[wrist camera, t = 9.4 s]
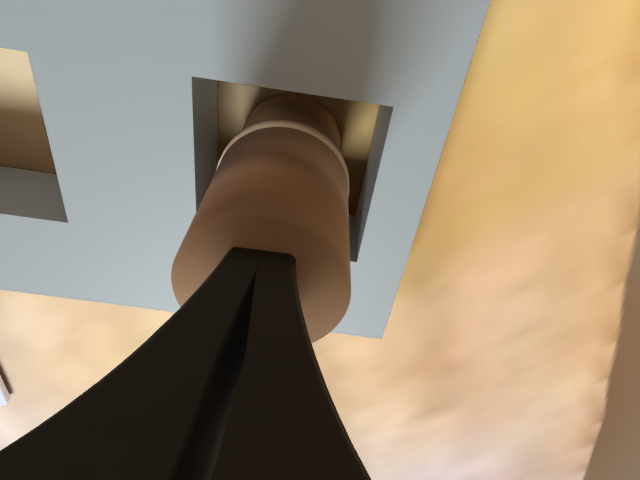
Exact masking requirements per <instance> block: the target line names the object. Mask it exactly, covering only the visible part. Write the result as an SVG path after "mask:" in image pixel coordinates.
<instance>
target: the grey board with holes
mask: <svg viewBox="0 0 640 480" xmlns="http://www.w3.org/2000/svg"><path fill="white" fill-rule="evenodd" d="M490 1H491V0H0V48H7V49H14V50H20V51H27V52H28V56H29V60H30V64H31V69H32V73H33V77H34V81H35V85H36V90H37V94H38V98H39V102H40V106H41V110H42V115H43V119H44V123H45V127H46V131H47V136H48V140H49V144H50V148H51V152H52V156H53V161H54V165H55V169H56V173H57V174H53V173H46V172H39V171H32V170H25V169H18V168H11V167H3V166H0V290H8V291H16V292H23V293H31V294H39V295H46V296H54V297H62V298H70V299H77V300H85V301H93V302H100V303H108V304H116V305H124V306H131V307H139V308H147V309H154V310H162V311H170V312H177V311H178V310H179V309H180V305H179V304H178V302H177V300H176V297H175V295H174V292H173V288H172V282H171V269H172V265H173V261H174V259H175V256H176V254H177V252H178V250H179V248H180V246H181V244H182V241H183V239H184V237H185V235H186V233H187V231H188V229H189V227H190V225H191V223H192V220H193V218H194V216H195V214H196V212H197V210H198V208H199V206H200V204H201V202H202V199H203V197H204V195H205V193H206V191H207V189H208V187H209V185H210V183H211V181H212V179H213V176H214V174H215V172H216V169H217V80H219V81H226V82H232V83H239V84H246V85H252V86H259V87H266V88H272V89H279V90H285V91H292V92H299V93H305V94H312V95H319V96H325V97H332V98H338V99H345V100H352V101H358V102H365V103H372V104H378V105H379V110H378V114H377V119H376V123H375V128H374V133H373V137H372V142H371V147H370V151H369V156H368V160H367V165H366V170H365V174H364V179H363V183H362V188H361V193H360V197H359V202H358V206H357V211H356V216H352V215H349V240H350V270H351V298H350V303H349V307H348V309H347V312H346V314H345V315H344V317H343V319H342V320H341V321H340V323H339V324H338V325H337V326H336V327H335V328H334V329H333V330H332V331H331V332H332V333H340V334H347V335H355V336H363V337H371V338H378V339H382V337H383V334H384V331H385V328H386V324H387V321H388V318H389V315H390V312H391V309H392V306H393V303H394V300H395V296H396V293H397V290H398V287H399V284H400V281H401V278H402V275H403V272H404V268H405V265H406V262H407V259H408V256H409V253H410V250H411V247H412V243H413V240H414V237H415V234H416V231H417V228H418V225H419V222H420V219H421V215H422V212H423V209H424V206H425V203H426V200H427V197H428V194H429V191H430V187H431V184H432V181H433V178H434V175H435V172H436V169H437V166H438V163H439V159H440V156H441V153H442V150H443V147H444V144H445V141H446V138H447V135H448V131H449V128H450V125H451V122H452V119H453V116H454V113H455V110H456V106H457V103H458V100H459V97H460V94H461V91H462V88H463V85H464V82H465V78H466V75H467V72H468V69H469V66H470V63H471V60H472V57H473V54H474V50H475V47H476V44H477V41H478V38H479V35H480V32H481V29H482V26H483V22H484V19H485V16H486V13H487V10H488V7H489V4H490Z"/></svg>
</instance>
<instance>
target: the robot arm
mask: <svg viewBox="0 0 640 480" xmlns="http://www.w3.org/2000/svg"><path fill="white" fill-rule="evenodd" d="M10 399H11V398H10V395H9V393H8V391H7V389H6V386H5V384H4V382H3V380H2V378H1V375H0V406H4V405H7V404H8V402H9V401H10ZM0 480H371V478H370V476H369V475H368V473H367V471H366V469H365V467H364V465H363V463H362V461H361V459H360V458H359V456H358V454H357V452H356V450H355V448H354V446H353V444H352V442H351V440H350V438H349V436H348V434H347V432H346V430H345V427H344V425H343V423H342V421H341V419H340V417H339V414H338V412H337V410H336V408H335V405H334V403H333V401H332V398H331V396H330V393H329V391H328V389H327V386H326V383H325V381H324V378H323V376H322V373H321V370H320V368H319V365H318V362H317V359H316V356H315V353H314V350H313V347H312V344H311V340H310V337H309V334H308V330H307V326H306V323H305V319H304V315H303V311H302V307H301V302H300V297H299V292H298V286H297V278H296V258H295V257H294V256H293V255H292V254H288V253H280V252H272V251H264V250H257V249H249V248H241V247H233V248H232V249H230V250H229V251H228V252H227V254H226V255H225V256H224V258H223V259H222V260H221V262H220V263H219V264H218V265H217V267H216V268H215V269H214V270H213V272H212V273H211V274H210V275H209V276H208V278H207V279H206V280H205V281H204V282H203V283H202V285H201V286H200V287H199V288H198V289H197V290H196V291H195V292H194V293H193V294H192V296H191V297H190V298H189V299H188V300H187V301H186V302H185V303H184V304H183V305H182V306H181V307H180V309H179V310H178V311H177V312H176V313H175V314H174V315H173V316H172V317H171V318H170V319H169V320H167V321H166V322H165V323H164V324H163V325H162V326H161V327H160V328H159V329H158V330H157V331H156V332H155V333H154V334H153V335H152V336H151V337H150V338H149V339H148V340H147V341H146V342H145V343H143V344H142V345H141V346H140V347H139V348H138V349H137V350H136V351H134V352H133V353H132V354H131V355H130V356H129V357H128V358H126V359H125V360H124V361H123V362H122V363H121V364H119V365H118V366H117V367H116V368H114V369H113V370H112V371H111V372H110V373H108V374H107V375H106V376H105V377H104V378H102V379H101V380H100V381H98V382H97V383H96V384H95V385H93V386H92V387H91V388H89V389H88V390H87V391H85V392H84V393H83V394H81V395H80V396H79V397H77V398H76V399H75V400H73V401H72V402H71V403H69V404H68V405H67V406H66V407H64V408H63V409H61V410H60V411H59V412H57V413H56V414H54V415H53V416H52V417H50V418H49V419H47V420H46V421H45V422H43V423H42V424H40V425H39V426H37V427H36V428H34V429H33V430H31V431H30V432H28V433H27V434H25V435H24V436H22V437H21V438H19V439H18V440H16V441H15V442H13V443H12V444H10V445H9V446H7V447H5V448H4V449H2V450H1V451H0Z"/></svg>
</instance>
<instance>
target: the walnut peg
mask: <svg viewBox="0 0 640 480" xmlns="http://www.w3.org/2000/svg"><path fill="white" fill-rule="evenodd" d="M348 197H349V175H348V169H347V166H346V163H345V160H344V158H343V156H342V154H341V139H340V133H339V129H338V126H337V124H336V122H335V120H334V119H333V117H332V116H331V114H330V113H329V112H328V111H327V110H326V109H325V108H324V107H323V106H322V105H320V104H319V103H318V102H316V101H314V100H312V99H310V98H307V97H304V96H300V95H293V94H285V95H278V96H275V97H272V98H269V99H267V100H265V101H264V102H262V103H260V104H259V105H258V106H257V107H256V108H255V109H254V110H253V111H252V112H251V114H250V115H249V117H248V119H247V121H246V123H245V125H244V128H243V130H242V131H241V132H239V133H238V134H237V135H236V136H235V137H234V138H233V139H232V140H231V141H230V142H229V143H228V145H227V146H226V148H225V149H224V151H223V153H222V156H221V158H220V160H219V162H218V166H217V169H216V172H215V174H214V176H213V179H212V181H211V183H210V185H209V187H208V189H207V191H206V193H205V195H204V197H203V199H202V202H201V204H200V206H199V208H198V210H197V212H196V214H195V216H194V218H193V220H192V223H191V225H190V227H189V229H188V231H187V233H186V235H185V237H184V239H183V241H182V244H181V246H180V248H179V250H178V252H177V254H176V256H175V259H174V261H173V265H172V269H171V282H172V288H173V292H174V295H175V297H176V300H177V302H178V304H179V305H180V307H181V306H182V305H183V304H184V303H185V302H186V301H187V300H188V299H189V298H190V297H191V296H192V294H193V293H194V292H195V291H196V290H197V289H198V288H199V287H200V286H201V285H202V283H203V282H204V281H205V280H206V279H207V278H208V276H209V275H210V274H211V273H212V272H213V270H214V269H215V268H216V267H217V265H218V264H219V263H220V262H221V260H222V259H223V258H224V256H225V255H226V254H227V252H228V251H229V250H230V249H232V248H233V247H241V248H249V249H257V250H264V251H272V252H280V253H288V254H292V255H293V256H294V257H295V258H296V278H297V286H298V292H299V297H300V302H301V307H302V311H303V315H304V319H305V323H306V326H307V330H308V334H309V337H310V340H311V343H313V342H315V341H317V340H319V339H321V338H323V337H324V336H325V335H327V334H328V333H330V332H331V331H332V330H333V329H334V328H335V327H336V326H337V325H338V324H339V323H340V321H341V320H342V319H343V317H344V315H345V314H346V312H347V309H348V307H349V303H350V298H351V270H350V240H349V211H348Z"/></svg>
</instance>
